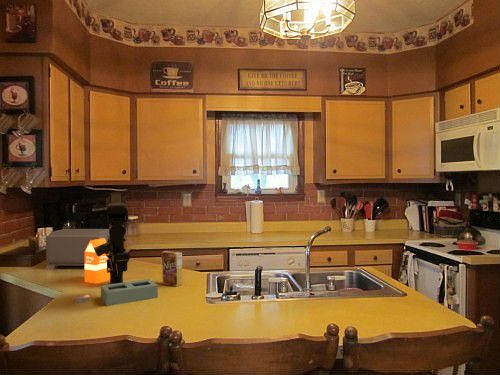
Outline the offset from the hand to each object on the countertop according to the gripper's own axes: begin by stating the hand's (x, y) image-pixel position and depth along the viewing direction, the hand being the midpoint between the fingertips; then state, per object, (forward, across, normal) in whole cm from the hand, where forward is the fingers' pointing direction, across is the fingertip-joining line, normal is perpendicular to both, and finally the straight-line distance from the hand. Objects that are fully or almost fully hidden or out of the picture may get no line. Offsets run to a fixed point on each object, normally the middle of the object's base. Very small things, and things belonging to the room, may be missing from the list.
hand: (117, 274), depth 152 cm
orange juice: (+10, -37, -1) cm, 39 cm away
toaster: (+10, -76, -2) cm, 77 cm away
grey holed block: (+10, 0, +5) cm, 11 cm away
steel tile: (+11, -6, -12) cm, 17 cm away
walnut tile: (+8, 0, 0) cm, 8 cm away
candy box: (+10, -10, +27) cm, 31 cm away
